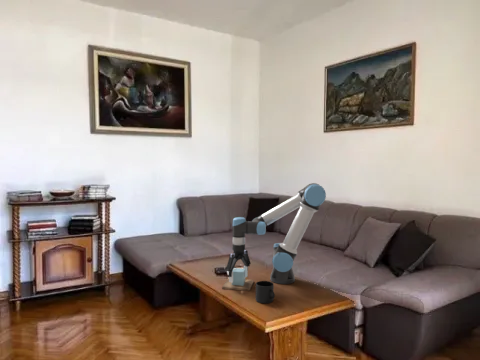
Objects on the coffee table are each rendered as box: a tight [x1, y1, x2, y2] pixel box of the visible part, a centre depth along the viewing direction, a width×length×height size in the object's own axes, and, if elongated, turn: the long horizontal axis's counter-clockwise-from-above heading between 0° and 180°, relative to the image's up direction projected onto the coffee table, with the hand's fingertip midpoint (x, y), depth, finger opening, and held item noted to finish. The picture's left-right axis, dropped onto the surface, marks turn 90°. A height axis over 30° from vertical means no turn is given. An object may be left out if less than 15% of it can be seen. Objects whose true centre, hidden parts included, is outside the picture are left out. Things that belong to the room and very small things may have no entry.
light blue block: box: [232, 267, 246, 286], centre depth 221 cm, size 7×7×9 cm
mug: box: [255, 280, 276, 304], centre depth 197 cm, size 9×12×9 cm
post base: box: [221, 277, 255, 292], centre depth 221 cm, size 16×16×7 cm
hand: (238, 279), depth 221 cm, fingers open, 12 cm apart
